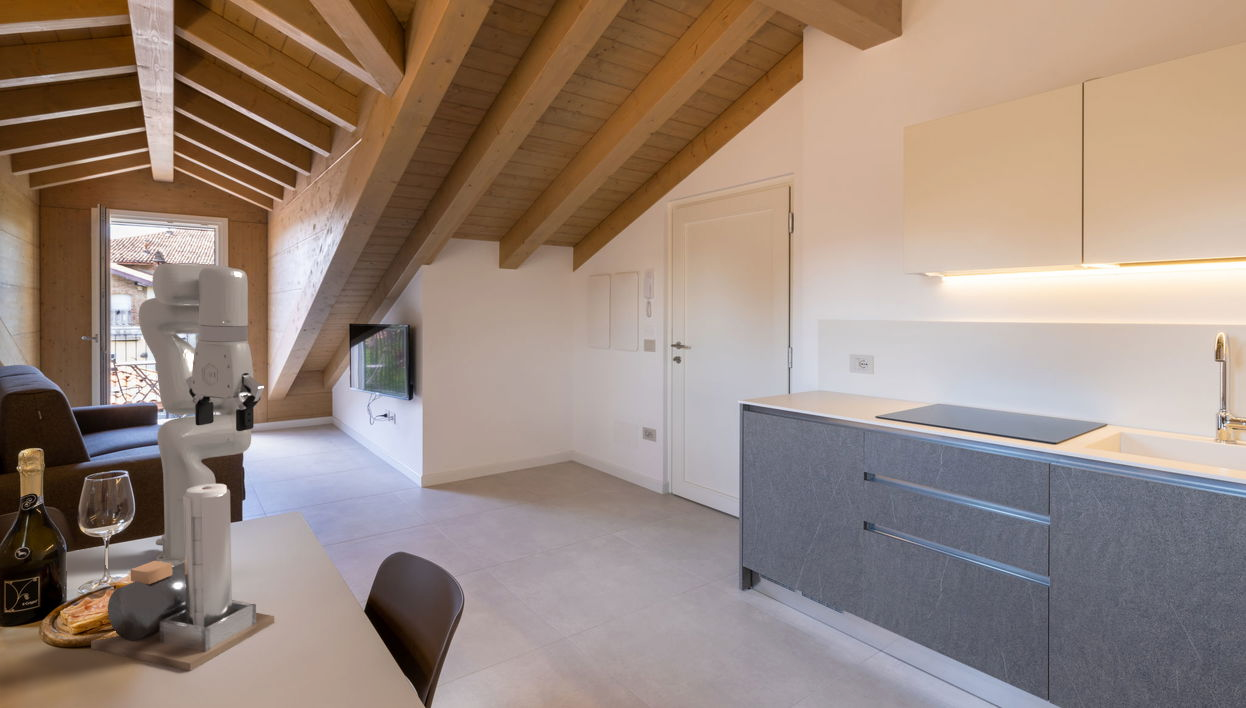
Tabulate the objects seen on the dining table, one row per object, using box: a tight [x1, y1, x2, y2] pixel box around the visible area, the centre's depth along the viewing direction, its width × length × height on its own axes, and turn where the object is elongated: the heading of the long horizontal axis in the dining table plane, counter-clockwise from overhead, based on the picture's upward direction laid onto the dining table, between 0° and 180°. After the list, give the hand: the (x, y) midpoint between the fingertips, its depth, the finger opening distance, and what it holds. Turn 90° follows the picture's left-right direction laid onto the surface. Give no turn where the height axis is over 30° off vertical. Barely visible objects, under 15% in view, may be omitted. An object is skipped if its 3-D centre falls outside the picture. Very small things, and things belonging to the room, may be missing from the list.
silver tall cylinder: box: [183, 483, 233, 628], centre depth 105 cm, size 6×6×25 cm
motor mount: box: [90, 560, 275, 672], centre depth 106 cm, size 21×16×12 cm
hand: (224, 426), depth 116 cm, fingers open, 9 cm apart
